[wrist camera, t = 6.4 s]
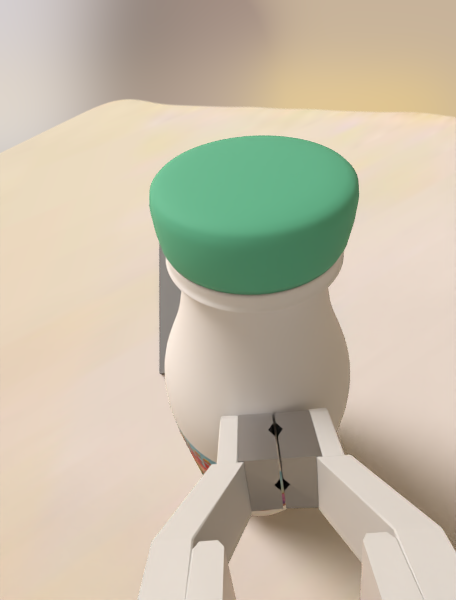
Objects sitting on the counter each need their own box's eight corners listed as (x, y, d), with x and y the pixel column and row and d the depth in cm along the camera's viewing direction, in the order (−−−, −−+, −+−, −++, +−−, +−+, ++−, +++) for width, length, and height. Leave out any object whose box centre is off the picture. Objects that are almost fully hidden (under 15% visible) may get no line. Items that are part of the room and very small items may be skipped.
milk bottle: (232, 382, 25) (193, 101, 10) (327, 425, 22) (464, 121, 7) (180, 478, 20) (-24, 228, 6) (290, 546, 18) (446, 401, 3)
